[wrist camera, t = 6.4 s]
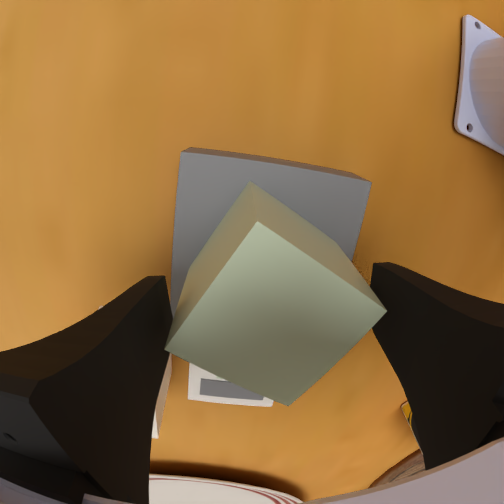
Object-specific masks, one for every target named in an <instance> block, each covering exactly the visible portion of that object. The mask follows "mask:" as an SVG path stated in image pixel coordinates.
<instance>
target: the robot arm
mask: <svg viewBox="0 0 504 504" xmlns="http://www.w3.org/2000/svg"><path fill="white" fill-rule="evenodd" d="M475 25H476V26H475ZM476 27H477V28H476ZM467 124H468V126H469V129H468V131H467ZM454 126H455V129H456V131H457V132H459V133H461V134H463V135H465V136H467V137H469V138H471V139H473V140H475V141H477V142H479V143H481V144H483V145H485V146H487V147H489V148H491V149H493V150H495V151H496V152H498V153H500V154H502V155H504V37H501V36H500V35H498V34H497V33H496V32H494V31H493V30H492V29H490V28H489V27H487V26H486V25H485V24H483V23H482V22H480V21H479V20H477V19H476V18H474V17H473V16H471V15H465V16H463V31H462V55H461V69H460V80H459V90H458V98H457V106H456V113H455V119H454ZM370 288H371V289H372V290H373V292H374V293H375V295H376V296H377V297H378V299H379V300H380V302H381V303H382V304H383V306H384V307H385V309H386V310H387V312H386V313H385V314H384V315H383V316H382V317H381V318H380V320H379V321H378V322H377V323H376V324H375V325H374V326H373V327H372V329H373V332H374V334H375V336H376V338H377V340H378V342H379V343H380V345H381V347H382V349H383V351H384V353H385V354H386V356H387V358H388V360H389V362H390V363H391V365H392V367H393V369H394V371H395V373H396V374H397V376H398V378H399V380H400V382H401V385H402V387H403V389H404V392H405V394H406V397H407V400H408V403H409V405H410V408H411V411H412V415H413V418H414V421H415V425H416V428H417V432H418V436H419V440H420V444H421V449H422V453H423V458H424V464H425V471H424V472H421V473H418V474H416V475H413V476H410V477H407V478H404V479H400V480H397V481H394V482H390V483H387V484H383V485H380V486H376V487H372V488H368V489H364V490H360V491H356V492H351V493H347V494H342V495H337V496H331V497H326V498H320V499H316V500H312V501H307V502H302V503H297V504H504V304H502V303H497V302H493V301H489V300H485V299H482V298H479V297H476V296H472V295H469V294H466V293H463V292H461V291H458V290H456V289H453V288H451V287H448V286H446V285H443V284H441V283H439V282H436V281H434V280H432V279H429V278H427V277H425V276H423V275H421V274H418V273H416V272H414V271H412V270H409V269H407V268H405V267H402V266H400V265H397V264H394V263H390V262H383V263H373V270H372V277H371V284H370ZM172 322H173V316H172V311H171V306H170V301H169V295H168V290H167V285H166V279H165V276H148V277H146V278H144V279H142V280H141V281H139V282H138V283H136V284H135V285H133V286H132V287H130V288H129V289H128V290H126V291H125V292H123V293H122V294H121V295H119V296H118V297H117V298H115V299H114V300H112V301H111V302H109V303H108V304H106V305H105V306H103V307H102V308H100V309H99V310H97V311H96V312H94V313H93V314H91V315H89V316H88V317H86V318H84V319H83V320H81V321H79V322H77V323H75V324H74V325H72V326H70V327H68V328H66V329H64V330H62V331H59V332H57V333H55V334H52V335H50V336H48V337H45V338H43V339H41V340H38V341H35V342H33V343H30V344H27V345H24V346H20V347H17V348H14V349H10V350H6V351H2V352H0V504H149V468H150V451H151V439H152V429H153V421H154V414H155V408H156V403H157V398H158V395H159V391H160V387H161V384H162V380H163V377H164V373H165V370H166V366H167V362H168V359H169V355H170V352H168V351H166V350H164V349H165V345H166V342H167V338H168V335H169V332H170V328H171V325H172Z"/></svg>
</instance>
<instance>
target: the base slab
mask: <svg viewBox="0 0 504 504" xmlns="http://www.w3.org/2000/svg"><path fill="white" fill-rule="evenodd" d="M249 181H251V182H253V183H254V184H255V185H257V186H258V187H260V188H261V189H263V190H264V191H266V192H267V193H269V194H270V195H271V196H273V197H274V198H276V199H277V200H279V201H280V202H281V203H283V204H284V205H286V206H287V207H289V208H290V209H291V210H293V211H294V212H296V213H297V214H298V215H300V216H301V217H303V218H304V219H305V220H307V221H308V222H309V223H311V224H312V225H314V226H315V227H316V228H318V229H319V230H320V231H322V232H323V233H324V234H326V235H327V236H328V237H330V238H331V239H333V240H334V241H335V242H336V243H337V244H338V245H339V247H340V248H341V249H342V251H343V252H344V253H345V254H346V256H347V257H348V258H349V260H350V261H351V262H352V258H353V255H354V251H355V247H356V244H357V240H358V236H359V233H360V229H361V225H362V221H363V217H364V213H365V209H366V205H367V201H368V197H369V192H370V188H371V184H372V182H370V181H368V180H366V179H364V178H362V177H360V176H357V175H355V174H353V173H350V172H346V171H341V170H336V169H331V168H326V167H321V166H316V165H311V164H305V163H300V162H294V161H289V160H283V159H276V158H270V157H264V156H257V155H250V154H243V153H236V152H228V151H220V150H211V149H202V148H193V147H190V148H188V149H186V150H184V151H182V152H181V156H180V166H179V175H178V185H177V196H176V208H175V221H174V236H173V252H172V272H171V301H170V306H171V311H172V316H173V318H174V315H175V312H176V308H177V305H178V302H179V299H180V296H181V292H182V289H183V286H184V283H185V280H186V277H187V274H188V271H189V268H190V266H191V264H192V263H193V261H194V260H195V259H196V257H197V256H198V254H199V253H200V251H201V250H202V248H203V247H204V245H205V244H206V242H207V241H208V239H209V238H210V236H211V235H212V234H213V232H214V231H215V229H216V228H217V226H218V225H219V223H220V222H221V221H222V219H223V218H224V216H225V215H226V213H227V212H228V211H229V209H230V208H231V206H232V205H233V203H234V202H235V201H236V199H237V198H238V196H239V195H240V194H241V192H242V191H243V189H244V188H245V187H246V185H247V184H248V182H249Z"/></svg>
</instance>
